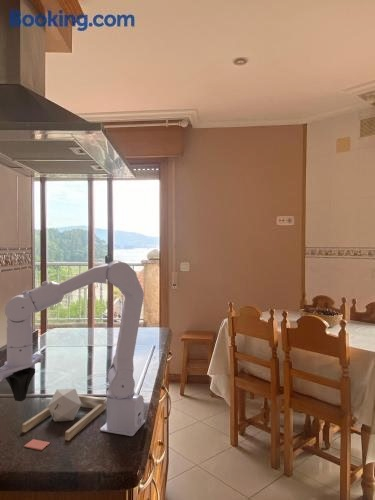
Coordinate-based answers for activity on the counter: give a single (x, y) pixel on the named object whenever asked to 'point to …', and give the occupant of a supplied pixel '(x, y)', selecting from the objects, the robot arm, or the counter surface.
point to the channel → (88, 402)
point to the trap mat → (37, 444)
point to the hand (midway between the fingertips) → (20, 399)
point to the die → (64, 405)
